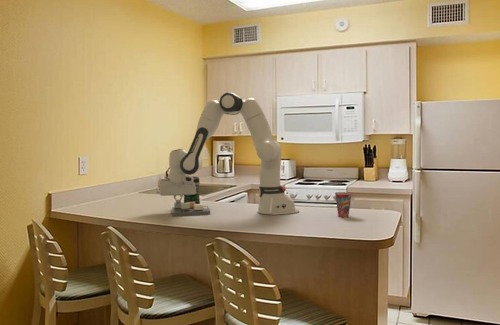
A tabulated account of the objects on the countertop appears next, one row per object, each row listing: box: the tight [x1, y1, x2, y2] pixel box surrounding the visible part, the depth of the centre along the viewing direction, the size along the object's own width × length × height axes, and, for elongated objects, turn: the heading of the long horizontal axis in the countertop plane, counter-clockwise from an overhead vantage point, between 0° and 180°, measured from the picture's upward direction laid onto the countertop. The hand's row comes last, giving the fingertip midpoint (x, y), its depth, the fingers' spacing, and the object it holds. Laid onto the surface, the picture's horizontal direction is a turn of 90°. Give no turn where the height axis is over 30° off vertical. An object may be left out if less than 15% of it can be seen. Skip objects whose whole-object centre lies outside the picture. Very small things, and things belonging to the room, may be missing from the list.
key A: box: [194, 203, 204, 210], centre depth 240 cm, size 4×4×2 cm
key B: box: [181, 202, 190, 209], centre depth 239 cm, size 4×4×2 cm
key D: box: [173, 201, 183, 208], centre depth 247 cm, size 4×4×2 cm
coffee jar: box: [183, 175, 201, 204], centre depth 259 cm, size 10×8×19 cm
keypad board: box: [171, 205, 211, 217], centre depth 244 cm, size 20×18×2 cm
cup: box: [334, 191, 355, 219], centre depth 223 cm, size 9×8×12 cm
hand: (178, 203), depth 247 cm, fingers closed, pressing on key D
